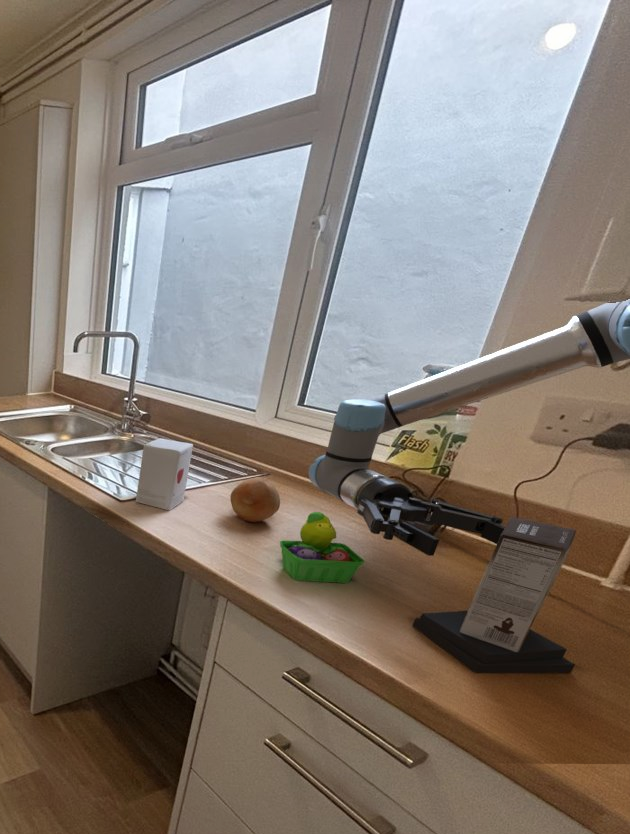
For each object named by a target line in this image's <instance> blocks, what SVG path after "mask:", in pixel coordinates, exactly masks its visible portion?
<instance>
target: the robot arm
mask: <svg viewBox="0 0 630 834" xmlns="http://www.w3.org/2000/svg"><path fill="white" fill-rule="evenodd" d="M628 360H630V299H628V300H626V301H622V302H616V303H607V302H605V303H603V304H601V305H598V306H596V307H594V308H592V309H589V310H587V311H584V312H581V313H579V314H575V315H573V316H572V317H571V318H570V320H569V321H568V322H567V324H565V325H564V326H561V327H558V328H556V329H554V330H553V329H552V330H551V331H547V332H545V333H542V334H540V335H537V336H534V337H532V338H530V339H526V340H524V341H521V342H519V343H516V344H513V345H511V346H508V347H505V348H502V349H500V350H498V351H494V352H492V353H489V354H487V355H484V356H481V357H479V358H476V359H473V360H470V361H469V362H466V363H463V364H460V365H458V366H455V367H452V368H449V369H447V370H445V371H441V372H439V373H436V374H434V375H431V376H428V377H426V378H423V379H420V380H418V381H415V382H412V383H410V384H407V385H404V386H402V387H399V388H397V389H394V390H392V391H391V390H390V391H389V392H386V393H384V394H381V395H378V396H375V397H373V398H366V399H354V398H351V399H345V400H343V401H341V402H340V403H339V405H338V408H337V412H336V413H335V415H334V418H333V420H334V421H333V425H332V429H331V433H330V438H329V441H328V445H327V449H326V450H325V451H326V452H325V454H323V455H320V456H319V457H317V458H316V459H314V462H312V464H311V465H310V466H309V469H308V478H309V481H310V482H311V483H312V484H313V486H315V487H316V488H318V489H319V490H320V491H321V492H323V493H325V494H327V495H330V496H332V497H334V498H336V499H338V500H339V501H341V502H343V503H345V504H346V505H348V506H350V507H352V508H354V509H355V510H356V512H357V514H358V515H359V516H361V517H362V518H363V519H364V521H365V523H366V525H367V527H368V530H369V531H370V533H371V534H374V535H380V534H381V533H384V534H383V536H382V538H383V539H385V540H387V541H392V540H393V538H394V537H395V538H396V539H398V540H400V541H402V542H403V543H405V544H407V545H409V546H410V547H412V548H414V549H416V550H418V551H419V552H421V553H422V554H425V555H427V556H428V557H432V556H435V553H436V550H437V547H438V545H439V543H440V539H439V538H438V537H436V536H433V535H432V534H430V533H428V532H426V531H424V530H423V529H420V528H418V527H417V526H414V525H413V524H412V523H413V522H416V523H421V524H425V525H429V526H433V525H435V524H438V525H441V526H446V527H450V528H453V529H458V530H462V531H466V532H471V533H475V534H477V535H478V534H479V535H480V538H483V539H484V540H487V541H489V542H491V543H493V544H495V545H497V543H498V541H499V538H500V536H501V534H502V532H503V530H504V529H505V527H506V526H504V525H502V524H503V522H504V519H503V518H501V517H498V515H495V514H493V515H490V514H486V513H483V512H480V511H475V510H472V509H468V508H465V507H461V506H456V505H453V504H450V503H447V502H444V501H442V500H439V499H431V501H430V502H428V501H423V499H420V498H417V497H416V498H415V497H414V495H413V492H412V490H411V489H410V488H409V487H408V486H407V485H406V484H403V483H401V482H399V481H397V480H394V479H393V478H390V477H388V476H386V475H383V474H381V473H379V472H377V471H374V470H371V469H369V467H370V464H371V461H372V459H373V455H374V452H375V451H374V450H375V448H376V446H377V442H378V439H379V437H380V436H381V434H384V433H387V432H390V431H393V430H395V429H399V428H401V427H404V426H407V425H410V424H413V423H416V422H419V421H422V420H425V419H428V418H432V417H434V416H437V415H440V414H443V413H447V412H449V411H452V410H453V411H454V410H456V409H459V408H463V407H464V406H468V405H472V404H474V403H478V402H481V401H483V400H487V399H489V398H490V399H491V398H492V397H495V396H498V395H502V394H504V393H507V392H510V391H514V390H517V389H520V388H523V387H526V386H529V385H532V384H535V383H538V382H542V381H544V380H548V379H551V378H553V377H557V376H560V375H562V374H566V373H569V372H572V371H576V370H578V369H582V368H583V367H591V368H596V369H600V368H603V367H606V366H609V365H612V364H616V363H619V362H623V361H628ZM429 514H430V518H427V517H428V515H429ZM399 521H400V523H399ZM409 522H412V523H411V524H410V523H409Z"/></svg>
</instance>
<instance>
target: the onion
mask: <svg viewBox="0 0 630 834" xmlns="http://www.w3.org/2000/svg"><path fill="white" fill-rule="evenodd" d="M229 497H230V504H231V508H232V511H233V512H234V513H235V514H236V516H238V517H239V518H241V519H243V520H245V521H246V522H250V523H257V522H258V523H259V522H261V521H265V520H267V519H269V518H271V517H272V516H273V515H275V514H276V512H278V511H279V509H280V506H281V498H280V494H279V491H278V489H277V488H276V486H275V485H274V483H272V482H271V481H269V480H268V479H266V478H265V477H262V476H261V477H259V476H258V477H252V478H248V479H246V480H244V481H242V482H241V483H239V484H238V485H237V486H236V487H235V488H233V489H232V491H231V493H230V496H229Z"/></svg>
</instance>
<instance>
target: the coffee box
mask: <svg viewBox="0 0 630 834" xmlns="http://www.w3.org/2000/svg"><path fill="white" fill-rule="evenodd" d="M504 527H505V529H504V530H503V532H502V534H501V536H500V538H499V541H498V543H497V544H495V546H494V547H495V548H494V549H493V552H492V554H491V556H490V559H489V561H488V564H487V566H486V569H485V570H484V573H483V574H482V575H483V576H482V577H481V580H480V582H479V585H478V587H477V590H476V592H475V594H474V596H473V599H472V601H471V603H470V605H469V608H468V610H467V611H468V612H467V615H466V617H465V620H464V622H463V624H462V627H461V629H460V633H462V634H465V635H468V636H471V637H474V638H477V639H480V640H483V641H486V642H488V643H491V644H494V645H497V646H500V647H503V648H506V649H508V650H511V651H514V652H518V651H519V650H520V648H521V646H522V644H523V642H524V640H525V638H526V636H527V634H528V632H529V630H530V629H531V628H532V626H533V625H534V623H535V621H536V619H537V617H538V615H539V613H540V611H541V609H542V606H543V605H544V603H545V601H546V599H547V597H548V595H549V593H550V591H551V589H552V587H553V585H554V583H555V581H556V579H557V577H558V574H559V572H560V570H561V568H562V566H563V565H564V562H565V560H566V558H567V556H568V554H569V552H570V549H571V547H572V544H573V541H574V539H575V536H576V534H577V533H576V532H577V530H576V529H574V528H568V527H563V526H557V525H553V524H548V523H544V522H539V521H535V520H531V519H530V520H529V519H525V518H519V517H515V516H511V517H510V519H509V520H508V522H507V523H506V525H505V526H504Z"/></svg>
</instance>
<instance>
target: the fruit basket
mask: <svg viewBox="0 0 630 834" xmlns="http://www.w3.org/2000/svg"><path fill="white" fill-rule="evenodd" d="M299 532H300V533H299V536H300V539H301V540H280V542H279V544H280V548H281V560H282V567H283V569H284V570H285V571H286V573H287V574H288V575H289V576H291V578H292V579H293V580H294V581H300V582H303V581H307V582H323V583H341V584H347V583H349V581H350V580H351V579H352V578H353V576H354V575H355V573H356V572H357V571H358V570H359V568H361V567H362V566H363V564H364V563H365V562H366V561H365V559H363V558H362V557H361V556H360V555H358V554H357V553H356V552H355V551H354V550H352V549H351V548H350V547H349V546H348V545H346V544H345V543H341V542H332V541H333V540H335V539H336V538H337V531H336V529H335V527H334V526H333V524H332V523H331V520H330V518H329V517H328V515H325V514H324V513H323V512H321V511H313V512H310V514H308V516H307V519H306V522H305V523H304V524H303V525H302V527H301V529H300V531H299Z"/></svg>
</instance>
